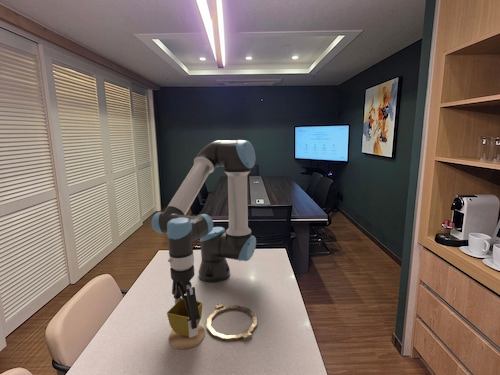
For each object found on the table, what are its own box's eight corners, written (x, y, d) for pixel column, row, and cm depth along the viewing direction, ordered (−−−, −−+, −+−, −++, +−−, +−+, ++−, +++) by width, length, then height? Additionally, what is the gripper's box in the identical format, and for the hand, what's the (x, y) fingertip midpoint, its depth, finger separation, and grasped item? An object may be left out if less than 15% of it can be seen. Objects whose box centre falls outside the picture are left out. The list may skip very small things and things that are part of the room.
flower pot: (191, 342, 91) (189, 317, 89) (168, 337, 94) (166, 312, 92) (204, 325, 99) (203, 302, 97) (182, 320, 102) (181, 297, 100)
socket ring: (197, 316, 106) (197, 313, 106) (238, 300, 116) (237, 297, 116) (224, 352, 89) (224, 347, 89) (269, 329, 99) (269, 325, 99)
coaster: (164, 333, 98) (164, 331, 98) (196, 320, 105) (196, 318, 105) (176, 355, 88) (175, 353, 88) (210, 339, 95) (210, 337, 95)
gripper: (159, 255, 99) (164, 310, 103) (184, 285, 80) (189, 351, 84) (180, 250, 103) (184, 303, 108) (208, 277, 84) (212, 341, 88)
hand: (186, 324), depth 96 cm, fingers closed on flower pot, 12 cm apart
